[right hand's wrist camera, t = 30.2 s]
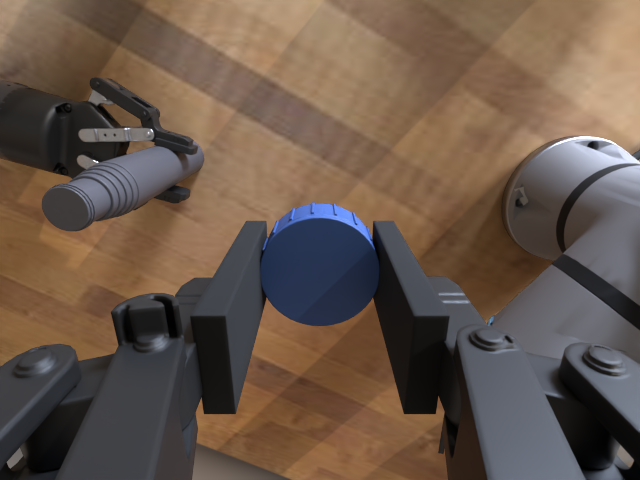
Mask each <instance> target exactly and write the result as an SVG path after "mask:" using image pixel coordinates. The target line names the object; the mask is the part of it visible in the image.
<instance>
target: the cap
mask: <svg viewBox="0 0 640 480" xmlns="http://www.w3.org/2000/svg"><path fill="white" fill-rule="evenodd" d="M262 252H263V255H262V258H261V263H260V270H261V284H262V288H263V290H264V293H265V295H266V296H267V298H268V300H269V301H270V302H271V304H272V305H273V306H274V307H275V308H276V309H277V310H278V311H279V312H280V313H282V314H283V315H284V316H286V317H288V318H290V319H292V320H294V321H296V322H299V323H302V324H306V325H312V326H327V325H334V324H337V323H341V322H343V321H346V320H348V319H350V318H352V317H354V316H355V315H357V314H358V313H359V312H361V311H362V310H363V309H364V308H365V307H366V306H367V305H368V303H369V302H370V301H371V299H372V298H373V296H374V294H375V292H376V290H377V287H378V282H379V259H378V256H377V253H376V250H375V247H374V244H373V242H372V237H371V234H370V231H369V229H368V227H365V225H364V224H363V223H362V222H361V221H360V220H359V219H358V218H357V217H356V216H355V213H354V212H353V213H351V212H349V211H347V210H345V209H343V208H341V207H338V206H336V204H333V205H330V204H315V203H314V202H312V204H310V205H305V206H302V207H299V208H297V209H294V208H293V209H292V211H291V212H289V213H288V214H286V215H285V216H284V217H282V218H281V219H280V220H279V221H278V220H277V221H276V223H275V226H274V228H273V230H272V232H271V234H270V236H269V237H267V239H266V242H265V244H264V247H263V249H262Z"/></svg>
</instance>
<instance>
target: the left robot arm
mask: <svg viewBox="0 0 640 480" xmlns="http://www.w3.org/2000/svg"><path fill="white" fill-rule="evenodd" d="M90 86H91V88H92V89H93V90H92V93H91V95H90V97H89V100H88V101H82V102H76V101H73V100H69V99H66V98H63V97H59V96H56V95H52V94H49V93H45V92H42V91H39V90H35V89H32V88H29V87H28V86H25V85H22V84H19V83H11V82H8V81H4V80H0V158H1V159H5V160H9V161H12V162H16V163H20V164H23V165H27V166H31V167H34V168H38V169H42V170H45V171H49V172H53V173H56V174H61V175H66V176H69V177H71V178H72V179H73V178H75V177H76V176H78V175H79V174H81V173H82V172H83V171H85V170H86V169H87V168H89V167H91V166H93V165H95V164H97V163H100V162H104V161H107V160H110V159H114V158H117V157H120V156H124V155H127V154H126V152H127V149H128V147H129V142H130V141H152V142H155V144H154V145H156V146H160V147H164V148H167V149H170V150H174V151H177V152H181V153H184V154H188V155H194V154H196V153H197V151H198V146H197V145H193V140H192V139H191V138H190V137H187V136H184V135H180V134H177V133H174V132H170V131H167V130H164V129H163V128H162V127H161V126H160V123H159V116H160V112H159V110H158V109H157V108H156V107H154V106H152V105H151V104H149V103H148V102H146V101H145V100H143V99H142V98H140V97H138V96H137V95H135V94H134V93H132V92H131V91H129V90H127V89H126V88H124V87H123V86H121V85H120V84H118V83H116V82H115V81H113V80H112V79H106V78H92V79H91V80H90ZM103 104H106V105H115V104H117V105H118V106H120V107H121V108H123V109H125V110H126V111H128V112H129V113H131V114H133V115H134V116H136V117H137V118H139V119H141V124H142V126H121V125H120V124H119V123H118V122H117V121H116V120H115V119H114V118H113V117H112V116H111V115H110V114H109V112H108V111H107V110H106V109H105V108H104V107H103V106H102V105H103ZM189 196H190V190H189V189H186V188H183V187H179V186H176V185H174V186H172V187H170V188H169V189H167V190H165V191H164V192H162V193H160V194H159V195H157V196H155V197H154V198H156V199H160V200H163V201H167V202H171V203H179V202H181V201H182V200H186V199H187V198H188V197H189ZM147 202H148V201H147ZM147 202H145V203H144V204H142V205H140V206H139V207H137V208H135V209H134V210H136V209H138V208H140V207H141V206H143V205H145V204H146V203H147Z"/></svg>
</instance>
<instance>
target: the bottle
mask: <svg viewBox="0 0 640 480" xmlns="http://www.w3.org/2000/svg"><path fill="white" fill-rule="evenodd" d="M193 145H197V146H198V151H197V153H196V154H194V155H188V154H184V153H181V152H177V151H174V150H170V149H167V148H164V147H160V146H154V147H151V148H148V149H144V150H141V151H137V152H134V153H131V154H127V155H124V156H120V157H117V158H114V159H110V160H107V161H104V162H100V163H97V164H95V165H93V166H91V167H89V168H87V169H86V170H85V171H83V172H82V173H81V174H79V175H78V176H76V177H75V178H73V179H72V180H71V181H70V182H69V183H66V184H59V185H56V186H54V187H52V188H50V190H48V191H47V192H46V193H45V195H44V197H43V200H42V209H43V212H44V214H45V216H46V218H47V219H48V220H49V221H50V222H51V223H52V224H53V225H54V226H56V227H57V228H60V229H62V230H66V231H80V230H82V229H84V228H86V227H88V226H90V225H91V224H92V223H93V222H94V221H101V220H106V219H109V218H114V217H118V216H122V215H124V214H127V213H129V212H130V211H132V210H134V209H135V208H137V207H139V206H140V205H142V204H144V203H145V202H147V201H149V200H150V199H152V198H154V197H155V196H157V195H159V194H160V193H162V192H164V191H165V190H167V189H169V188H170V187H172V186H174V185H175V184H177V183H179V182H180V181H182V180H184V179H185V178H187V177H189V176H190V175H192V174H194V173H195V172H197V171H198V170H199V169H200V168H201V167H202V165H203V162H204V155H203V152H202V149H201V148H200V146H199V145H198V144H197V143H196V142H194V141H193Z"/></svg>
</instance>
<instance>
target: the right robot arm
mask: <svg viewBox="0 0 640 480" xmlns="http://www.w3.org/2000/svg"><path fill="white" fill-rule="evenodd" d="M639 159H640V150H639V151H637V152H636V153H634V154H633V155H632V156H631V155H630V154H629V153H628V152H626V151H625V150H624V149H623V148H621V147H620V146H618V145H616V144H615V143H613V142H610V141H608V140H605V139H601V138H596V137H589V136H569V137H564V138H560V139H557V140H554V141H551V142H549V143H547V144H545V145H543V146H541V147H540V148H538V149H536V150H535V151H534V152H532V153H531V154H530V155H529V156H527V157H526V158H525V159H524V160H523V161H522V162H521V163H520V165H519V166H518V167H517V168H516V170H515V171H514V173H513V174H512V176H511V178H510V179H509V181H508V183H507V186H506V188H505V191H504V195H503V200H502V217H503V222H504V225H505V228H506V230H507V232H508V234H509V235H510V237H511V238H512V239H513V240H514V241H515V242H516V243H517V244H518V245H519V246H521V247H522V248H523V249H525V250H526V251H528V252H529V253H531V254H533V255H535V256H537V257H540V258H544V259H548V260H554V262H553V263H552V264H551V265H550V266H549V267H548V268H547V269H545V270H544V271H543V272H542V273H541V274H540V275H539V276H538V277H537V278H536V279H535V280H534V281H533V282H532V283H531V284H529V285H528V286H527V287H526V288H525V289H524V290H523V291H522V292H521V293H520V294H518V295H517V296H516V297H515V298H514V299H513V300H512V301H511V302H510V303H509V304H508V305H506V306H505V307H504V308H503V309H502V310H501V311H500V312H499V313H498V314H497V315H495V316H492V317H491V318H490V319H489V321H488V323H487V324H486V322H485V321H484V319H483V318H482V317H481V315H480V314H479V313H478V311H477V310H476V309H475V307H474V306H473V305H472V303H470V300H469V299H468V298H467V296H465V294H464V292H463V291H462V290H461V288H460V287H459V285H458V284H456V283H455V282H453V281H451V280H450V279H448V278H447V277H426V275H425V273H424V272H423V270H422V268H421V267H420V265H419V263H418V262H417V260H416V258H415V257H414V255H413V253H412V251H411V250H410V248H409V246H408V245H407V243H406V241H405V240H404V238H403V236H402V235H401V233H400V231H399V229H398V228H397V226H396V224H395V223H394V221H373V238H372V242H373V244H374V247H375V250H376V253H377V256H378V259H379V282H378V287H377V290H376V292H375V294H374V296H373V299H374V302H375V306H376V310H377V314H378V317H379V321H380V325H381V329H382V333H383V336H384V340H385V344H386V348H387V351H388V355H389V359H390V363H391V367H392V370H393V374H394V378H395V382H396V385H397V389H398V393H399V397H400V401H401V404H402V408H403V412H404V414H436V408H437V401H438V396H439V398H440V401H441V403H442V406H443V408H444V411H445V413H444V420H443V426H442V432H441V439H440V445H439V452H438V453H441V454H443V453H444V448H445V456H446V465H447V473H448V480H640V162H639V161H638V160H639ZM266 239H267V224H266V221H246V222H245V224H244V226H243V227H242V229H241V231H240V232H239V234H238V236H237V237H236V239H235V241H234V243H233V244H232V246H231V248H230V249H229V251H228V253H227V254H226V256H225V258H224V259H223V261H222V263H221V265H220V266H219V268H218V270H217V271H216V273H215V275H214V276H213V278H194V279H192V280H190V281H189V282H187V283H186V284H184V285H183V286H182V287H181V288H180V289H179V291H178V292H177V293H176V295H175V297H174V296H173V295H169V294H165V293H151V294H145V295H139V296H136V297H134V298H131V299H128V300H126V301H124V302H122V303H121V304H119V305H117V306H116V307H115V308H114V309H113V310H112V311H111V314H112V319H113V323H114V327H115V332H116V336H117V340H118V345H119V346H118V348H117V350H116V352H115V353H114V354H111V355H107V356H102V357H97V358H92V359H87V360H82V361H78V358H77V355H76V351H75V350H74V349H73V348H72V347H71V346H69V345H63V344H54V345H44V346H40V347H36V348H33V349H30V350H28V351H26V352H24V353H22V354H20V355H17V356H16V357H14V358H13V359H11V360H10V361H8V362H7V363H5V364H4V365H2V366H1V367H0V480H192V474H193V465H194V457H195V448H196V440H197V431H198V426H197V420H196V413H195V412H196V409H197V407H198V404H199V402H200V399H201V397H202V403H203V410H204V414H236V411H237V407H238V403H239V400H240V396H241V392H242V388H243V384H244V381H245V377H246V373H247V369H248V366H249V362H250V358H251V354H252V350H253V347H254V343H255V339H256V335H257V332H258V328H259V324H260V320H261V317H262V313H263V309H264V305H265V301H266V298H267V296H266V295H265V293H264V290H263V288H262V284H261V270H260V263H261V258H262V255H263V252H262V249H263V247H264V244H265V242H266ZM19 448H20V449H21V451H22V454H23V457H22V458H21V459H20V460H19V462H18V463H17V464H16V465H14V466H13V467H12V468H11V469H10V468H9V467H8V465H7V461H8V460H9V459H10V458H11V456H12V455H13V454H14V453H15V452H16V451H17V450H18V449H19Z"/></svg>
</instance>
